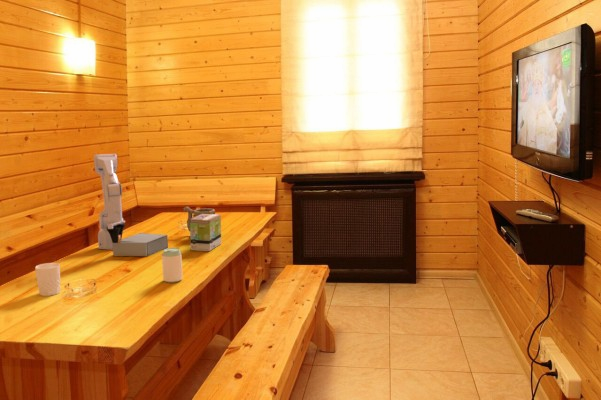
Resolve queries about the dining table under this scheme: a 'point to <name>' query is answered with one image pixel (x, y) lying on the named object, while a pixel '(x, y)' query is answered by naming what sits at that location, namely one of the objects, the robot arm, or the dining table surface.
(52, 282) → the white cup
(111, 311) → the dining table surface
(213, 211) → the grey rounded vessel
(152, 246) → the carton
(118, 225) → the robot arm
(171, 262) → the can
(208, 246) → the tea box
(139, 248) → the grey drawer
